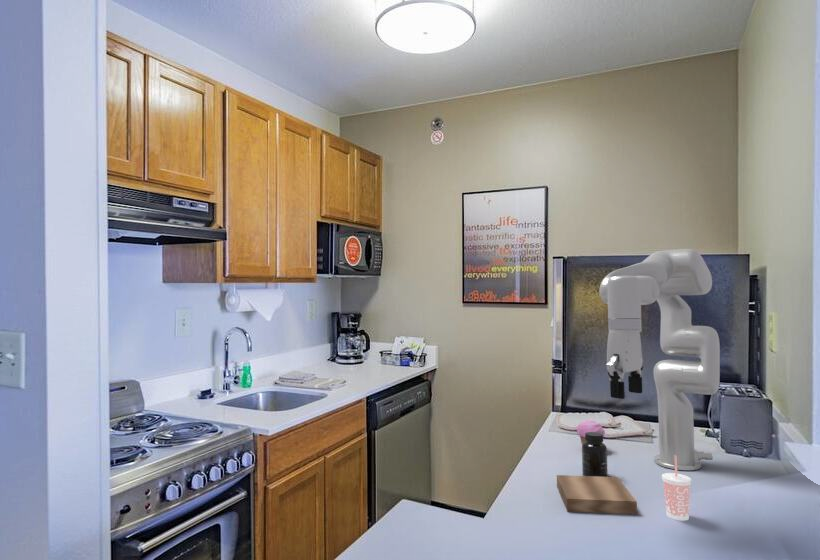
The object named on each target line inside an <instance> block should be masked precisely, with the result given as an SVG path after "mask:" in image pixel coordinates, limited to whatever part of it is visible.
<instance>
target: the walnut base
mask: <svg viewBox="0 0 820 560" xmlns="http://www.w3.org/2000/svg"><path fill="white" fill-rule="evenodd" d="M556 488H557V489H558V492H559V495H560V497H561V500H562V502H563V504H564V507H565V510H566V512H575V513H576V512H577V513H596V514H597V513H598V514H599V513H600V514H617V515H618V514H621V515H638V503H637V501H638V500H636V499H635V497H634V496H633V494H632V493H631V492H630V491H629V490H628V488H627V487H626V485H625V484H624V482H623V481H622V480H621V479H620V478H619V477H618V476H607V477H598V476H584V475H568V474H567V475H565V474H563V475H562V474H556Z"/></svg>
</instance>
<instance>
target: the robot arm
mask: <svg viewBox="0 0 820 560" xmlns="http://www.w3.org/2000/svg"><path fill="white" fill-rule="evenodd" d="M712 288H713V277H712V273H711V271H710V269H709V268H708V266H707V263H706V262H705V260H704V257H702V255H701V254H700V252H698V251H697V250H695V249H693V248H678V249H677V248H676V249H665V250H658V251H655V252H653V253H651V254H650V255H648V256H647V257H646V258H645V259H644V260H642V261H641V262H638V263H635V264H632V265H631V264H630V265H628V266H626V267H622V268H618V269H615V270H613V271H611V272H609V273H608V274H607V275H606V276H604V278H603V279H602V280H601V283H600V286H599V291H598V292H599V297H600V298H601V301H602V302H603V303H604V304H606V305H607V323H608V324H607V325H608V335H607V343H606V344H607V345H606V346H607V347H606V369H607V371H608V372H607V374H608V376H609V377H608V378H609V379H608V380H609V382H610V383H609V384H610V385H609V386H610V397H611V398H613V399H620V400H624V399H625V397H626V396H625V392H626V391H625V381H624V378H625V374H627V373H629V375H628V378H627V379H628V392H629V393H632V394H633V393H634V394H642V393H643V369H644V366H643V363H644V358H643V352H642V351H643V350H642V349H643V348H642V340H641V333H642V331H643V330H642V329H643V328H642V306H643V305H644V306H645V305H646V306H647V305H652V304H653V303H655V302H657V304H658V307H659V310H660V332H659V333H660V334H659V345H660V350H661V351H662V352H663V353H664V354H666V355H669V356H676V357H677V356H678V357H689V358H699V359H700V361H693V360H683V359H662V360H660V361H658V362H657V363H656V364H655V365H654V367H653V379H654V383H655V387H656V388H655V389H656V394H657V395H656V396H657V413H658V414H657V415H658V416H657V417H658V439H659V440H658V441H659V442H658V443H659V447H658V448H659V454H656V455H655V456H653V457H654V458H653V459H654V460H653V461H654V462H655V464H657V465H658V466H661V467H664V468H667V469H671V470H675V457H674V455H676V456H677V471H696V470H699V469H701V467H702V462H701V461H702V460H704V461H705V460H707V461H713V454H712V453H710V452H709V453H708V452H704V451H700V450H699V451H698V450H697V449H695V430H694V429H695V427H694V424H695V423H694V407H693V405H692V402H691V400H689V398H688V397H687V395H685V394H688V393H689V394H700V395H709V396H710V395H711V396H712V395H715V394H716V393H718V391H719V388H720V380H721V379H720V376H721V374H720V371H721V368H720V366H721V365H720V361H721V359H720V357H721V355H720V354H721V352H720V351H721V349H720V337H719V334H718V332H717V330H716V329H715V328H714V327H711V326H707V325H692V309H691V307H690V306H689V304H688V303H687V302H686V300H684V299H683V298H682V297H681V296H701V295H707V294H708V293H709V292H710V291H711V289H712Z"/></svg>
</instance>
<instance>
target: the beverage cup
mask: <svg viewBox="0 0 820 560" xmlns="http://www.w3.org/2000/svg"><path fill="white" fill-rule="evenodd" d="M674 457H675V469H674V472H666V473H663V474H661V480H662V482H663V491H664V492H663V493H664V502H665V512H666V516H667V517H668V518H670V519H672V520H675V521H683V522H684V521H688V520H689V519H690V495H691V494H690V493H691V484H692V478H691V477H690V476H688V475H686V474H681V473H678V470H677V456H676V455H674Z"/></svg>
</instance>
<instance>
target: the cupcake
mask: <svg viewBox="0 0 820 560" xmlns="http://www.w3.org/2000/svg"><path fill="white" fill-rule="evenodd" d="M587 432H597V433H601V434H603V438H604V437H605V429H604V428H603V427H602V425H601V423H600V422H598V421H593V420H583V421H581V422H580V423H578V425H577V426H576V433H577V435H578V436H579V437H580V443H581V445H582V444H583V443H584V442H586V440H585V433H587Z"/></svg>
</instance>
